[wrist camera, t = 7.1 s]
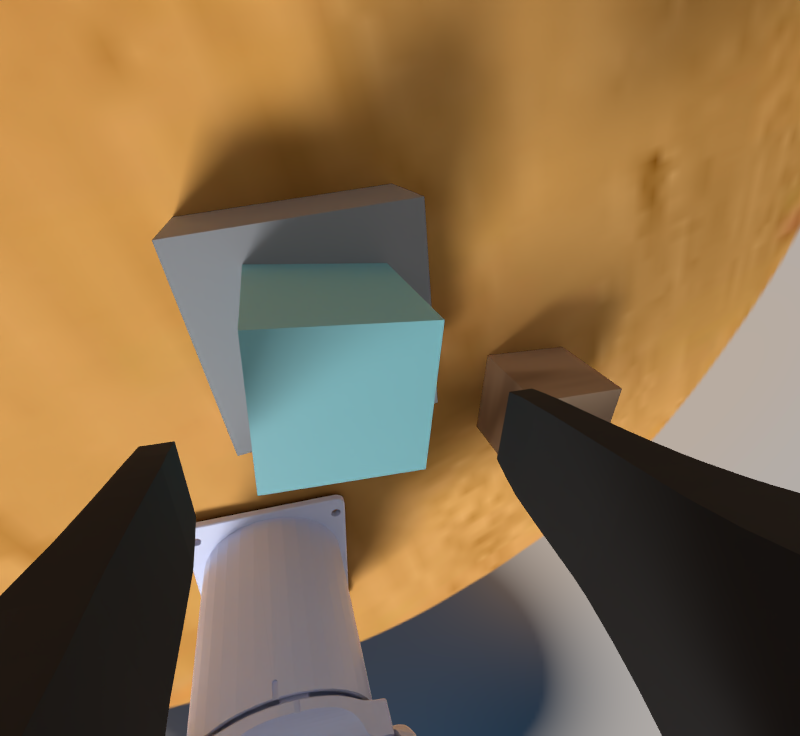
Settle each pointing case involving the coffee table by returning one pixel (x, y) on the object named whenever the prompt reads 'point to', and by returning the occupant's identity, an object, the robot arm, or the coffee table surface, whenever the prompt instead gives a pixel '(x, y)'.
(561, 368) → the walnut block
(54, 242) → the coffee table surface
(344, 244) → the gray base block
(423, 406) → the teal block
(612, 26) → the coffee table surface
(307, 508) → the robot arm
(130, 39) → the coffee table surface
